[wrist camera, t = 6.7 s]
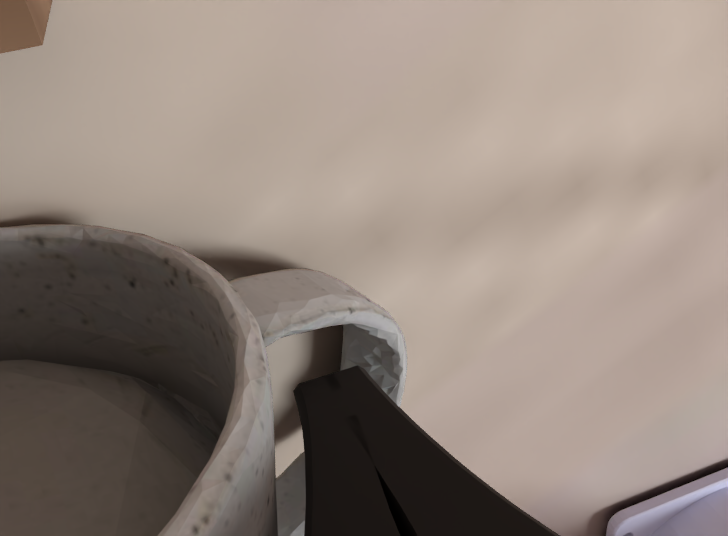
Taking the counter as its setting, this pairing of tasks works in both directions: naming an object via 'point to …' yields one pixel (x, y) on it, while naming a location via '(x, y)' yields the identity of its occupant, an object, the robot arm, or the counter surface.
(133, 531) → the ceramic mug
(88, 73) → the counter surface
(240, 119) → the counter surface
